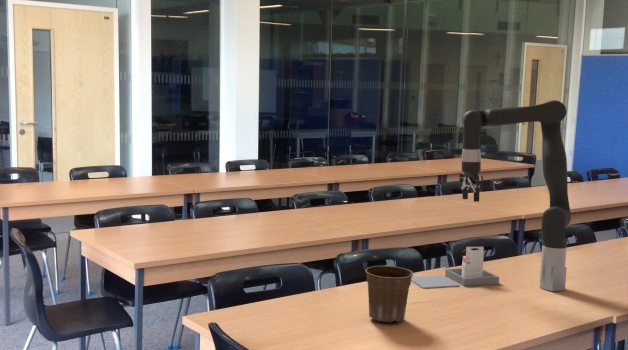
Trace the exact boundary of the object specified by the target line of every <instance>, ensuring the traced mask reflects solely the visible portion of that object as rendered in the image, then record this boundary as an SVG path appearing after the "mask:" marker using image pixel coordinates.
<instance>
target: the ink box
mask: <svg viewBox="0 0 628 350" xmlns="http://www.w3.org/2000/svg"><path fill="white" fill-rule="evenodd" d="M465 248H466V249H465V255H463V256H462V260H461V261H462V263H461V268H462V277H464V278H476V277H482V276H483V269H484V250H485V248H484V246H466V247H465Z"/></svg>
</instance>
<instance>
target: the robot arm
mask: <svg viewBox="0 0 628 350" xmlns="http://www.w3.org/2000/svg"><path fill="white" fill-rule="evenodd" d="M566 107H567V106H566V105H565V104H564V103H563V102H561V101H559V100H556V99H552V100H548V101H545V102H544V103H540V104H534V105H530V106H510V107H508V106H507V107H497V108H489V109H479V110H478V109H477V110H476V109H475V110H469V111H468V110H467V111H466V112H465V113H463V115H462V118H461V121H462V124H463V136H462V151H461V172H462V173H459V178H458V179H459V181H458V184H459V185H458V187H459V189H461V192H462V195H461V196H462V200H468V199H469V187H471V188H472V191H473V202H475V203H476V202H477V203H478V202H480V193H481V192H483V191H484V178H483V177H484V176H483V175H479V173H481V167H482V166H481V165H482V154H481V133H482V127H500V126H501V127H502V126H508V125H509V126H510V125H517V124H523V123H533V122H535V123H540V129H541V134H542V139H541V141H542V143H541V156H542V157H541V162H542V163H541V164H542V165H541V166H542V175H543V178H544V182H545V185H546V186H547V190H548V194H549V195H548V196H549V207H548V208H547V209H545V210H544V212H543V213H542V216H541V217H542V218H541V230H540V231H541V232H540V237H541V240H542V241H541V242H542V243H541V244H542V246H541V257H540V258H541V259H540V275H539V276H540V277H539V288H540V289H542V290H545V291H546V290H547V291H551V292H559V291H560V292H561V291H562V292H563V291H566V283H567V282H566V280H567V267H566V262H567V261H566V259H567V247H568V243H567V239H566V237H565V232H566V231H565V230H566V227H568V225H569V224H570V222H571V220H572V212H571V208H570V207H571V206H570V201H569V194H568V192H569V191H568V189H569V188H568V161H567V152H566V148H565V145H564V142H563V138H562V137H563V136H562V121H563V120H564V119H565V118H566V117H567V108H566Z"/></svg>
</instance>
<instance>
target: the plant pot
mask: <svg viewBox="0 0 628 350" xmlns="http://www.w3.org/2000/svg"><path fill="white" fill-rule="evenodd" d="M365 274H366V282H367V290H368V316H369V317H370V318H371V319H372V320H375V321H378V322H381V323H393V322H397V323H398V322H401V321H403V320H404V319H405V317H406V316H405V315H406V310H407V309H406V308H407V305H408V304H407V301H408V297H409V296H408V295H409V291H410V290H409V289H410V286H411V284H412V281H411V278H412V277H414V272H413V270H410V269H408V268H404V267H401V266H400V267H399V266H395V265H374V266H369V267H367V268H366V269H365Z"/></svg>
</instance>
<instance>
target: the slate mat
mask: <svg viewBox="0 0 628 350" xmlns="http://www.w3.org/2000/svg"><path fill="white" fill-rule="evenodd" d="M411 283H413V284H415V285H416V286H418V287H420V288H422V289H424V290H425V289H440V288H441V289H442V288H454V287H457V288H458V287H460V284H459V283H457V282H455V281H453V280H452V279H450V278H448V277H446V276H445V275H444V276H443V275H441V274H437V275H436V274H435V275H433V274H432V275H421V276H420V275H419V276H412V278H411Z"/></svg>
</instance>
